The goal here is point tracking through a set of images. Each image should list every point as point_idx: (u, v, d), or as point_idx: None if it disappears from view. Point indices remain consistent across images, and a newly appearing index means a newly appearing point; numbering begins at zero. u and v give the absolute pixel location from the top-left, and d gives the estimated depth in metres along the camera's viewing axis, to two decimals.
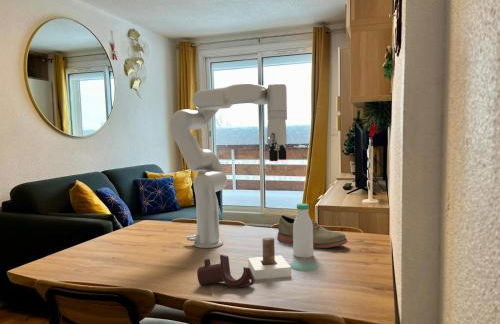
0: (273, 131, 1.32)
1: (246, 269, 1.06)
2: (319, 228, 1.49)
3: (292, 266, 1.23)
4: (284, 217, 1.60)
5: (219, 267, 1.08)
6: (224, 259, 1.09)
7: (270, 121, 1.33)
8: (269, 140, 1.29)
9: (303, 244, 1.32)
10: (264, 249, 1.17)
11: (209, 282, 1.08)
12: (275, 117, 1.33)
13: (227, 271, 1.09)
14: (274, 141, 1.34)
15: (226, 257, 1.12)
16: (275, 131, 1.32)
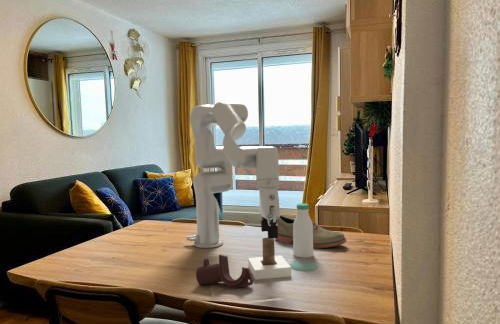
0: None
1: (245, 269, 1.06)
2: (318, 228, 1.49)
3: (292, 266, 1.23)
4: (282, 217, 1.59)
5: (218, 267, 1.08)
6: (223, 259, 1.09)
7: None
8: None
9: (303, 244, 1.32)
10: (264, 249, 1.17)
11: (208, 282, 1.08)
12: None
13: (226, 271, 1.09)
14: None
15: (225, 257, 1.12)
16: None
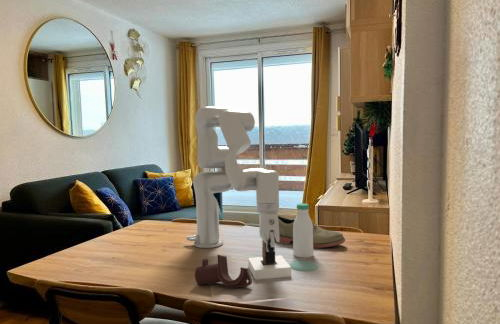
0: None
1: (243, 269, 1.06)
2: (316, 228, 1.50)
3: (292, 266, 1.23)
4: (279, 218, 1.59)
5: (216, 267, 1.08)
6: (221, 259, 1.09)
7: None
8: None
9: (303, 244, 1.32)
10: (264, 249, 1.17)
11: (206, 282, 1.08)
12: None
13: (225, 271, 1.09)
14: None
15: (224, 257, 1.11)
16: None
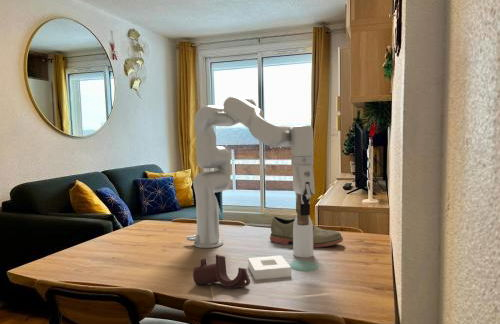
0: None
1: (241, 270, 1.05)
2: (314, 227, 1.50)
3: (292, 266, 1.23)
4: (276, 218, 1.58)
5: (214, 267, 1.08)
6: (220, 259, 1.09)
7: None
8: None
9: (303, 244, 1.32)
10: (299, 202, 1.21)
11: (205, 282, 1.08)
12: None
13: (223, 271, 1.09)
14: None
15: (222, 257, 1.11)
16: None
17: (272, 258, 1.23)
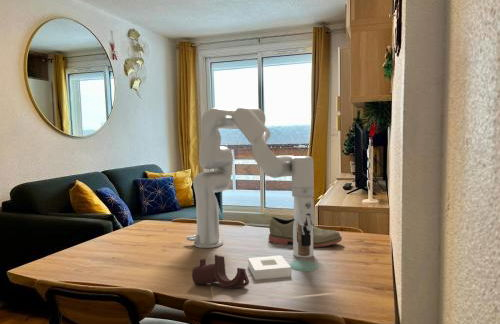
0: None
1: (240, 270, 1.05)
2: (313, 227, 1.51)
3: (292, 266, 1.23)
4: (274, 218, 1.58)
5: (213, 267, 1.08)
6: (219, 259, 1.09)
7: None
8: None
9: None
10: (300, 232, 1.21)
11: (204, 282, 1.08)
12: None
13: (222, 271, 1.09)
14: None
15: (221, 257, 1.11)
16: None
17: (272, 258, 1.23)
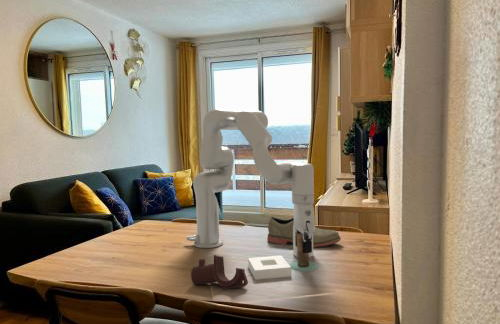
0: None
1: (239, 270, 1.05)
2: None
3: (292, 266, 1.23)
4: (273, 218, 1.58)
5: (212, 267, 1.08)
6: (218, 259, 1.09)
7: None
8: None
9: None
10: (299, 244, 1.22)
11: (202, 282, 1.08)
12: None
13: (221, 271, 1.09)
14: None
15: (220, 257, 1.11)
16: None
17: (272, 258, 1.23)
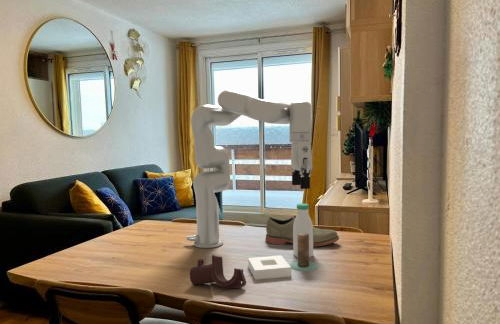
0: None
1: (237, 270, 1.05)
2: None
3: (292, 266, 1.23)
4: (271, 219, 1.57)
5: (211, 267, 1.08)
6: (216, 259, 1.09)
7: None
8: None
9: None
10: (299, 244, 1.22)
11: (201, 282, 1.08)
12: None
13: (219, 272, 1.09)
14: None
15: (219, 258, 1.11)
16: None
17: (272, 258, 1.23)
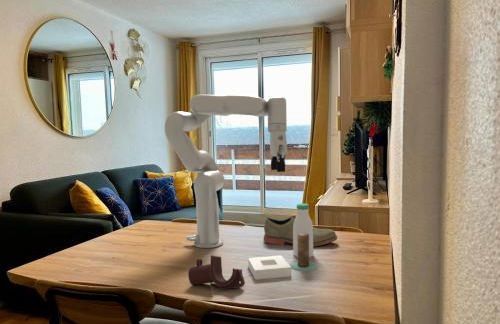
0: None
1: (235, 270, 1.05)
2: None
3: (292, 266, 1.23)
4: (269, 219, 1.56)
5: (209, 267, 1.08)
6: (215, 260, 1.09)
7: None
8: None
9: None
10: (299, 244, 1.22)
11: (200, 282, 1.08)
12: None
13: (218, 272, 1.09)
14: None
15: (218, 258, 1.11)
16: None
17: (272, 258, 1.23)
